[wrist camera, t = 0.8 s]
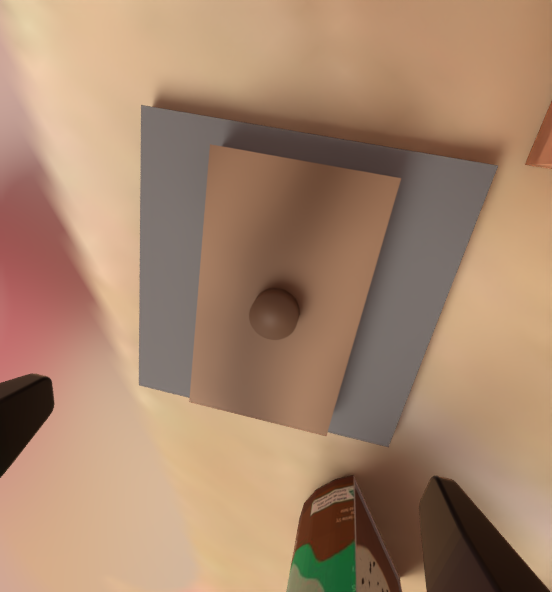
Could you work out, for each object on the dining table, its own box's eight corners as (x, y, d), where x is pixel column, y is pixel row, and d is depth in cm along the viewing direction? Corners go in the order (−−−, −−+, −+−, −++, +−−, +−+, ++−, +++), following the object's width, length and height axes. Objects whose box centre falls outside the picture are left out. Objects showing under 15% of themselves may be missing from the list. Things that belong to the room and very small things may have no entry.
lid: (394, 177, 13) (405, 178, 11) (326, 416, 18) (326, 449, 16) (221, 146, 14) (202, 142, 12) (199, 385, 18) (182, 412, 16)
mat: (489, 165, 13) (498, 165, 12) (386, 435, 18) (388, 447, 18) (151, 108, 14) (141, 104, 14) (146, 377, 20) (138, 385, 19)
